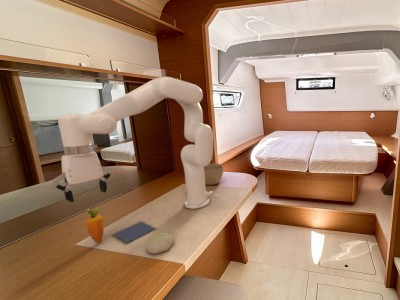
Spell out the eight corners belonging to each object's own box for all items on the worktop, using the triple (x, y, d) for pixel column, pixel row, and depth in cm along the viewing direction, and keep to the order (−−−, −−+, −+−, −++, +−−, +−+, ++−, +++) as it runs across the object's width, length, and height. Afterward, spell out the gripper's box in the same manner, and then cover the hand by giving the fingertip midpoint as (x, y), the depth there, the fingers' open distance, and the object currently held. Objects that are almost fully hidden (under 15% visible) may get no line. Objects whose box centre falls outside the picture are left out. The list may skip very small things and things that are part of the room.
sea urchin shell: (158, 232, 86) (167, 222, 83) (171, 248, 85) (180, 238, 82) (137, 246, 78) (146, 236, 74) (151, 264, 77) (161, 254, 74)
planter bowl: (208, 177, 155) (207, 162, 152) (228, 179, 150) (227, 164, 147) (194, 185, 140) (192, 169, 137) (216, 188, 135) (215, 171, 132)
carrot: (105, 237, 87) (98, 203, 83) (109, 242, 83) (101, 207, 80) (89, 244, 83) (81, 208, 80) (92, 249, 80) (84, 212, 76)
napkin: (140, 222, 98) (140, 221, 97) (155, 229, 92) (155, 228, 92) (113, 234, 88) (113, 234, 88) (127, 243, 83) (127, 242, 83)
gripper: (103, 145, 84) (110, 186, 88) (40, 153, 70) (52, 203, 73) (112, 147, 80) (119, 190, 84) (48, 156, 66) (60, 208, 69)
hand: (88, 196), depth 79 cm, fingers open, 9 cm apart
